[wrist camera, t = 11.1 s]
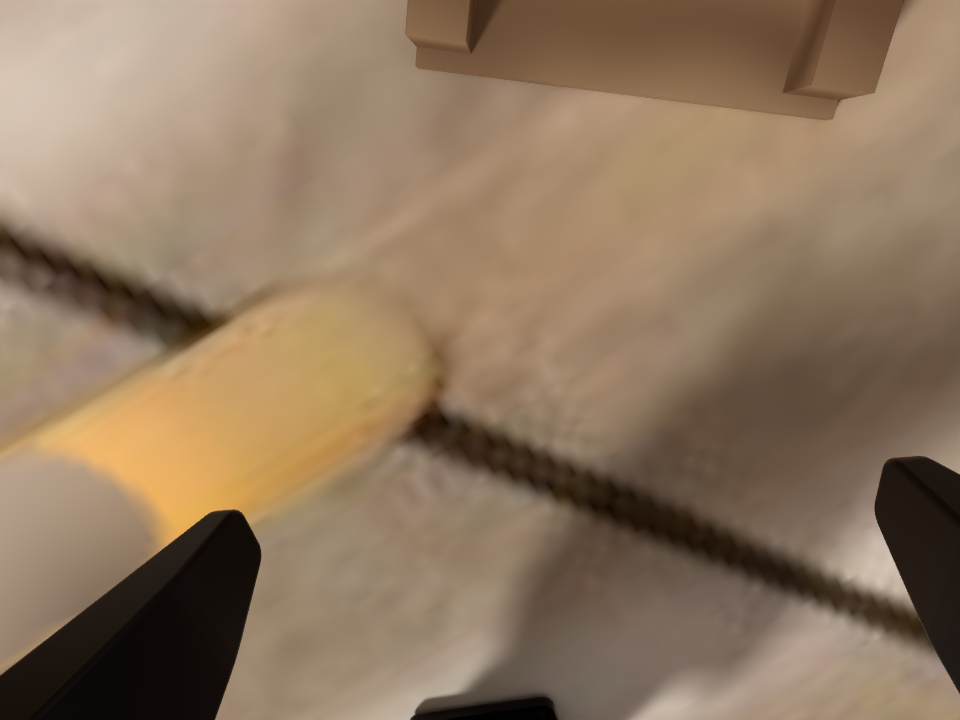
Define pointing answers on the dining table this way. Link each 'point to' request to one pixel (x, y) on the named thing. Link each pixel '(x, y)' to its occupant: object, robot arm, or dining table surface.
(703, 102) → the brown wooden frame
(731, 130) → the dining table surface
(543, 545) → the dining table surface
